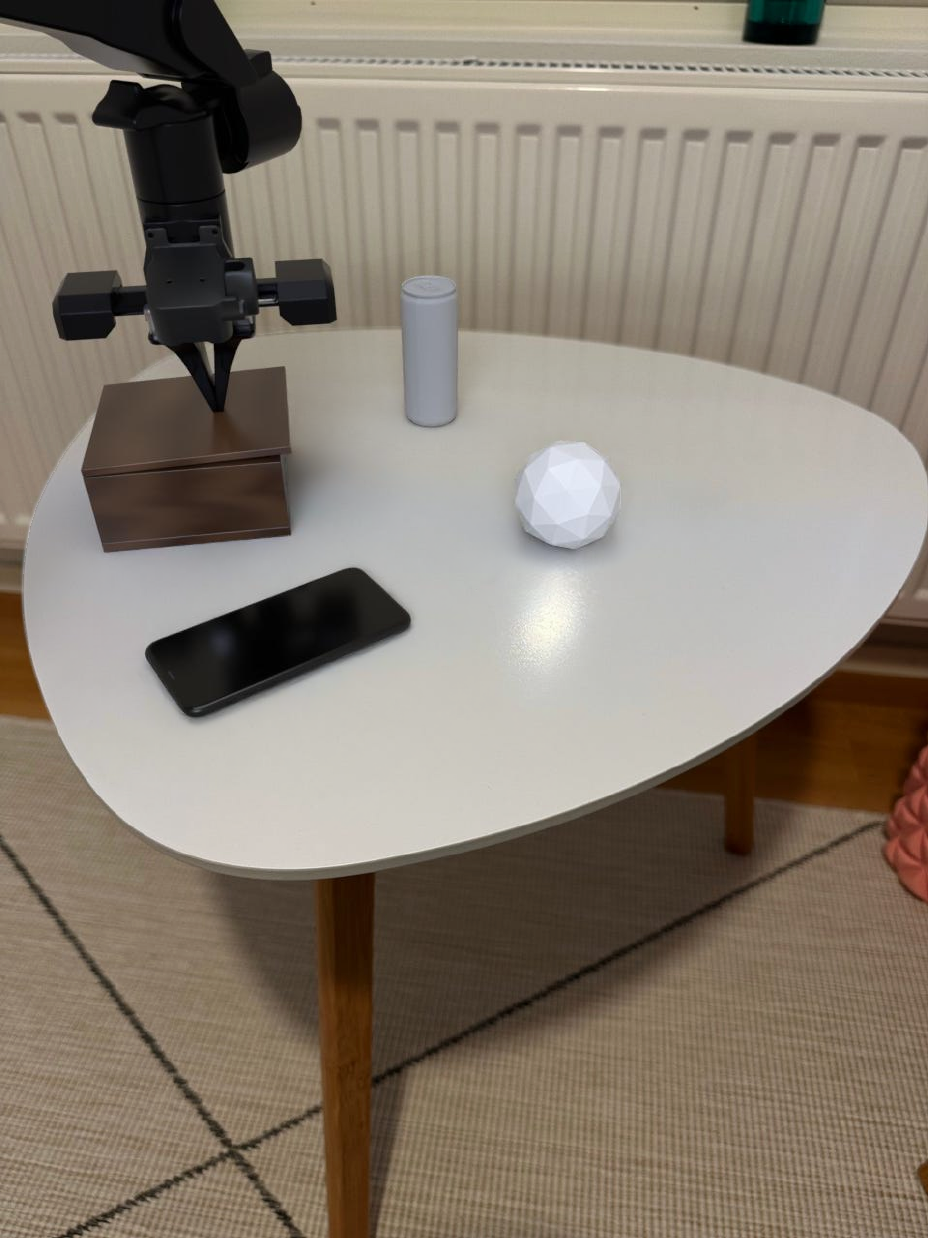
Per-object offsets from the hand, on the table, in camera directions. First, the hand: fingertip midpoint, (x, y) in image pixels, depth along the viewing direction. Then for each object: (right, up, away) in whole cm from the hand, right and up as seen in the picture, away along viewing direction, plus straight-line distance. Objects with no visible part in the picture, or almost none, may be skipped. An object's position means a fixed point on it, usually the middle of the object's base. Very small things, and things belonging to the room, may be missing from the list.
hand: (218, 409), depth 73 cm
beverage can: (+16, +2, +15) cm, 22 cm away
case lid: (-2, -1, 0) cm, 2 cm away
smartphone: (+7, -17, -10) cm, 21 cm away
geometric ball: (+26, -10, 0) cm, 28 cm away
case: (-2, -6, +4) cm, 8 cm away
